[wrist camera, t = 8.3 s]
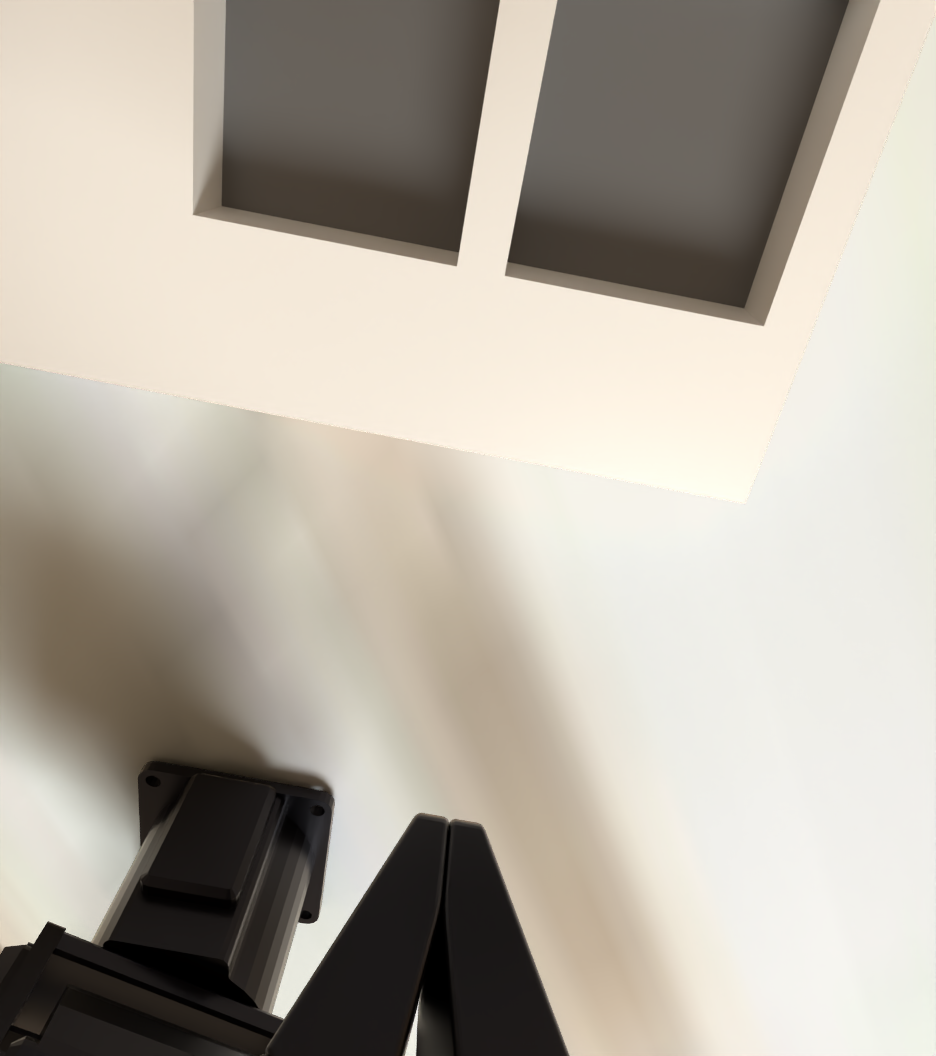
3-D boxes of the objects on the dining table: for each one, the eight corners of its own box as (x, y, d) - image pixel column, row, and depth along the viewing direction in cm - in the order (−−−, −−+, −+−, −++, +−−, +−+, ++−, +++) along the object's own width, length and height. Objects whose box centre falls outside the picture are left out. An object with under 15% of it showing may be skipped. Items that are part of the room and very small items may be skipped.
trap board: (725, 469, 20) (775, 558, 16) (-217, 289, 19) (-408, 335, 15) (996, -270, 13) (1195, -432, 9) (-425, -574, 13) (-853, -881, 9)
